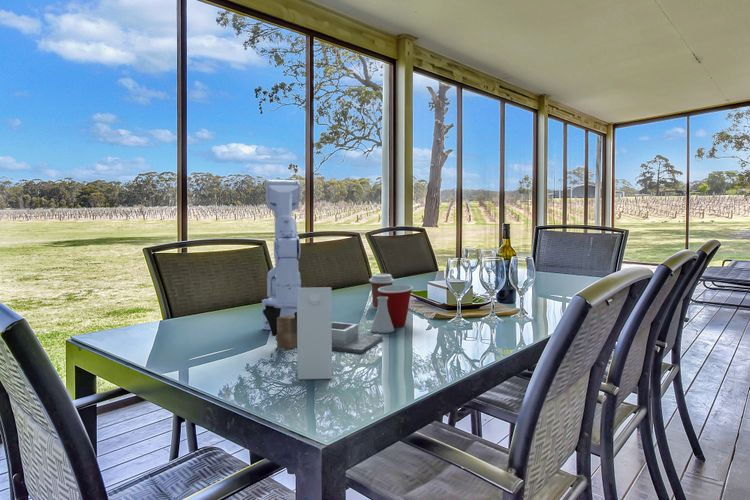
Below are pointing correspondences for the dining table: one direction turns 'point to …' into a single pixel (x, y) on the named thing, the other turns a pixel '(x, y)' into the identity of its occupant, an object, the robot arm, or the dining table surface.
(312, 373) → the milk carton
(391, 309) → the plastic cup
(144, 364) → the dining table surface
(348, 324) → the post socket base
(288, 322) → the walnut rail post
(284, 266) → the robot arm
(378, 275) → the coffee cup
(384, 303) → the flask
